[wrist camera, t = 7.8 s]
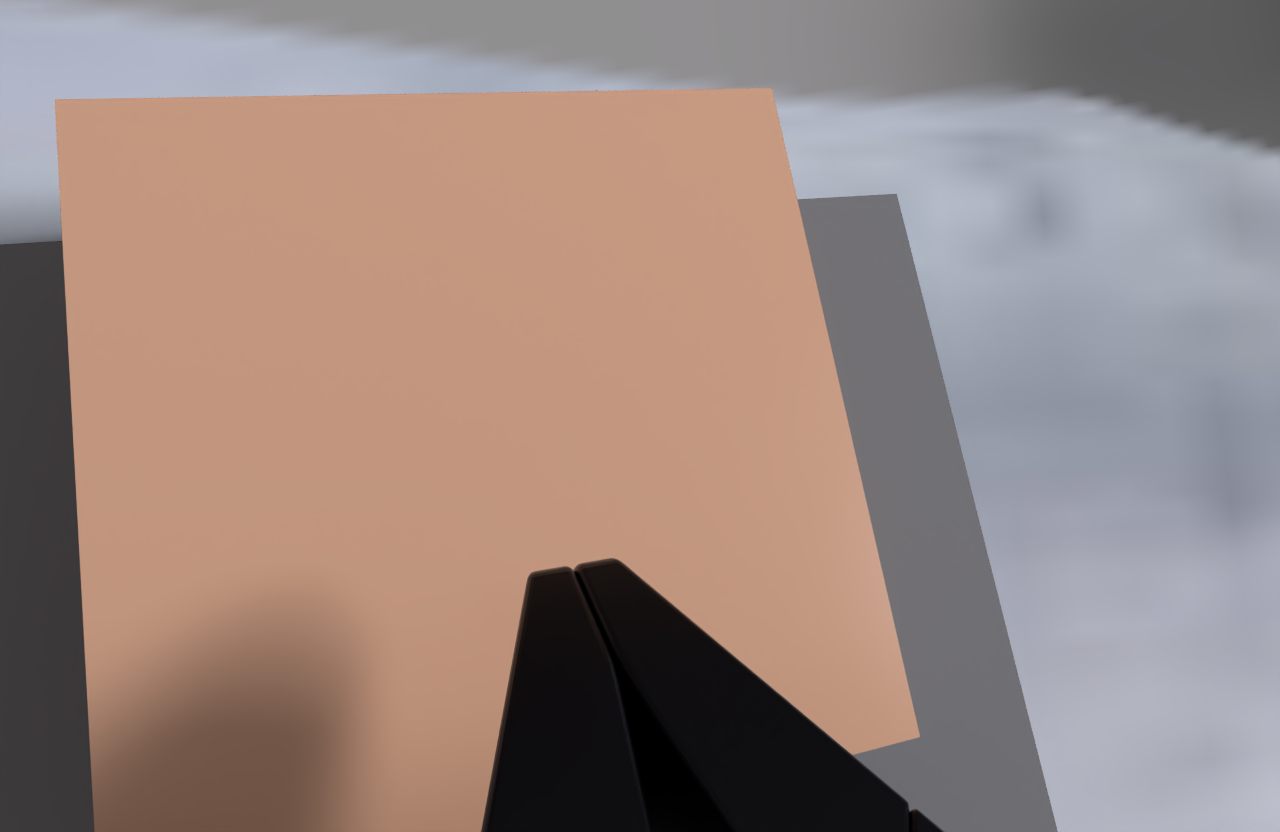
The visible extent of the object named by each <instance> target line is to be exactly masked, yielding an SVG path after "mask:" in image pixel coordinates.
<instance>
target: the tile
mask: <svg viewBox="0 0 1280 832" xmlns="http://www.w3.org/2000/svg"><path fill="white" fill-rule="evenodd" d="M55 113H56V132H57V150H58V168H59V187H60V205H61V224H62V242H63V260H64V279H65V297H66V315H67V334H68V352H69V371H70V389H71V407H72V426H73V444H74V462H75V481H76V499H77V518H78V536H79V554H80V573H81V591H82V610H83V628H84V646H85V665H86V683H87V701H88V720H89V738H90V757H91V775H92V793H93V812H94V830H95V832H481V829H482V823H483V818H484V812H485V807H486V801H487V796H488V790H489V785H490V780H491V774H492V769H493V763H494V758H495V752H496V747H497V741H498V736H499V730H500V725H501V719H502V714H503V708H504V703H505V697H506V692H507V686H508V681H509V675H510V670H511V664H512V659H513V653H514V648H515V642H516V637H517V631H518V626H519V620H520V615H521V609H522V604H523V598H524V593H525V588H526V582H527V578H528V576H529V574H530V573H532V572H534V571H539V570H545V569H551V568H556V567H562V566H568V567H570V568H572V569H573V570H574V568H575V567H576V566H577V565H578V564H580V563H585V562H591V561H596V560H602V559H608V558H615V559H618V560H620V561H621V562H623V563H624V564H625V565H626V566H627V567H629V568H630V569H631V570H632V571H633V572H635V573H636V574H637V575H638V576H639V577H641V578H642V579H643V580H644V581H645V582H647V583H648V584H649V585H650V586H651V587H653V588H654V589H655V590H656V591H657V592H658V593H660V594H661V595H662V596H663V597H664V598H666V599H667V600H668V601H669V602H670V603H672V604H673V605H674V606H675V607H676V608H678V609H679V610H680V611H681V612H682V613H684V614H685V615H686V616H687V617H688V618H690V619H691V620H692V621H693V622H694V623H695V624H697V625H698V626H699V627H700V628H701V629H703V630H704V631H705V632H706V633H707V634H709V635H710V636H711V637H712V638H713V639H715V640H716V641H717V642H718V643H719V644H721V645H722V646H723V647H724V648H725V649H727V650H728V651H729V652H730V653H731V654H732V655H734V656H735V657H736V658H737V659H738V660H740V661H741V662H742V663H743V664H744V665H746V666H747V667H748V668H749V669H750V670H752V671H753V672H754V673H755V674H756V675H758V676H759V677H760V678H761V679H762V680H764V681H765V682H766V683H767V684H768V685H769V686H771V687H772V688H773V689H774V690H775V691H777V692H778V693H779V694H780V695H781V696H783V697H784V698H785V699H786V700H787V701H789V702H790V703H791V704H792V705H793V706H795V707H796V708H797V709H798V710H799V711H801V712H802V713H803V714H804V715H805V716H806V717H808V718H809V719H810V720H811V721H812V722H814V723H815V724H816V725H817V726H818V727H820V728H821V729H822V730H823V731H824V732H826V733H827V734H828V735H829V736H830V737H832V738H833V739H834V740H835V741H836V742H838V743H839V744H840V745H841V746H842V747H844V748H845V749H846V750H847V751H848V752H849V753H851V754H852V755H854V754H858V753H862V752H865V751H869V750H873V749H877V748H881V747H884V746H888V745H892V744H896V743H900V742H903V741H907V740H911V739H915V738H918V737H920V734H919V730H918V725H917V721H916V717H915V712H914V708H913V703H912V699H911V695H910V690H909V686H908V682H907V677H906V673H905V668H904V664H903V660H902V655H901V651H900V647H899V642H898V638H897V633H896V629H895V625H894V620H893V616H892V612H891V607H890V603H889V599H888V594H887V590H886V585H885V581H884V577H883V572H882V568H881V564H880V559H879V555H878V550H877V546H876V542H875V537H874V533H873V529H872V524H871V520H870V515H869V511H868V507H867V502H866V498H865V494H864V489H863V485H862V480H861V476H860V472H859V467H858V463H857V459H856V454H855V450H854V445H853V441H852V437H851V432H850V428H849V424H848V419H847V415H846V410H845V406H844V402H843V397H842V393H841V389H840V384H839V380H838V375H837V371H836V367H835V362H834V358H833V354H832V349H831V345H830V341H829V336H828V332H827V327H826V323H825V319H824V314H823V310H822V306H821V301H820V297H819V292H818V288H817V284H816V279H815V275H814V271H813V266H812V262H811V257H810V253H809V249H808V244H807V240H806V236H805V231H804V227H803V222H802V218H801V214H800V209H799V205H798V201H797V196H796V192H795V187H794V183H793V179H792V174H791V170H790V166H789V161H788V157H787V152H786V148H785V144H784V139H783V135H782V131H781V126H780V122H779V118H778V113H777V109H776V104H775V100H774V96H773V91H772V88H754V89H691V90H627V91H564V92H501V93H438V94H374V95H311V96H248V97H185V98H121V99H58V100H55Z"/></svg>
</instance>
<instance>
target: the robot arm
mask: <svg viewBox="0 0 1280 832" xmlns="http://www.w3.org/2000/svg"><path fill="white" fill-rule="evenodd" d="M481 832H944V831H943V830H942V829H941V828H940V827H938V826H937V825H936V824H935V823H934V822H932V821H931V820H930V819H929V818H928V817H926V816H925V815H924V814H923V813H922V812H920V811H919V810H918V809H912V810H911V811H910V809H909V803H908V801H907V800H906V799H904V798H903V797H902V796H901V795H900V794H898V793H897V792H896V791H895V790H894V789H892V788H891V787H890V786H889V785H888V784H886V783H885V782H884V781H883V780H882V779H881V778H879V777H878V776H877V775H876V774H875V773H873V772H872V771H871V770H870V769H869V768H867V767H866V766H865V765H864V764H863V763H861V762H860V761H859V760H858V759H857V758H855V757H854V756H853V755H852V754H851V753H849V752H848V751H847V750H846V749H845V748H844V747H842V746H841V745H840V744H839V743H838V742H836V741H835V740H834V739H833V738H832V737H830V736H829V735H828V734H827V733H826V732H824V731H823V730H822V729H821V728H820V727H818V726H817V725H816V724H815V723H814V722H812V721H811V720H810V719H809V718H808V717H806V716H805V715H804V714H803V713H802V712H801V711H799V710H798V709H797V708H796V707H795V706H793V705H792V704H791V703H790V702H789V701H787V700H786V699H785V698H784V697H783V696H781V695H780V694H779V693H778V692H777V691H775V690H774V689H773V688H772V687H771V686H769V685H768V684H767V683H766V682H765V681H764V680H762V679H761V678H760V677H759V676H758V675H756V674H755V673H754V672H753V671H752V670H750V669H749V668H748V667H747V666H746V665H744V664H743V663H742V662H741V661H740V660H738V659H737V658H736V657H735V656H734V655H732V654H731V653H730V652H729V651H728V650H727V649H725V648H724V647H723V646H722V645H721V644H719V643H718V642H717V641H716V640H715V639H713V638H712V637H711V636H710V635H709V634H707V633H706V632H705V631H704V630H703V629H701V628H700V627H699V626H698V625H697V624H695V623H694V622H693V621H692V620H691V619H690V618H688V617H687V616H686V615H685V614H684V613H682V612H681V611H680V610H679V609H678V608H676V607H675V606H674V605H673V604H672V603H670V602H669V601H668V600H667V599H666V598H664V597H663V596H662V595H661V594H660V593H658V592H657V591H656V590H655V589H654V588H653V587H651V586H650V585H649V584H648V583H647V582H645V581H644V580H643V579H642V578H641V577H639V576H638V575H637V574H636V573H635V572H633V571H632V570H631V569H630V568H629V567H627V566H626V565H625V564H624V563H623V562H621V561H620V560H618V559H615V558H608V559H602V560H596V561H591V562H585V563H580V564H578V565H577V566H576V567H575V568H574V570H573V569H572V568H570V567H568V566H562V567H556V568H551V569H545V570H539V571H534V572H532V573H530V574H529V576H528V578H527V582H526V588H525V593H524V598H523V604H522V609H521V615H520V620H519V626H518V631H517V637H516V642H515V648H514V653H513V659H512V664H511V670H510V675H509V681H508V686H507V692H506V697H505V703H504V708H503V714H502V719H501V725H500V730H499V736H498V741H497V747H496V752H495V758H494V763H493V769H492V774H491V780H490V785H489V790H488V796H487V801H486V807H485V812H484V818H483V823H482V829H481Z"/></svg>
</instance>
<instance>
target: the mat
mask: <svg viewBox="0 0 1280 832" xmlns="http://www.w3.org/2000/svg"><path fill="white" fill-rule="evenodd" d="M797 201H798V205H799V209H800V214H801V218H802V222H803V227H804V231H805V236H806V240H807V244H808V249H809V253H810V257H811V262H812V266H813V271H814V275H815V279H816V284H817V288H818V292H819V297H820V301H821V306H822V310H823V314H824V319H825V323H826V327H827V332H828V336H829V341H830V345H831V349H832V354H833V358H834V362H835V367H836V371H837V375H838V380H839V384H840V389H841V393H842V397H843V402H844V406H845V410H846V415H847V419H848V424H849V428H850V432H851V437H852V441H853V445H854V450H855V454H856V459H857V463H858V467H859V472H860V476H861V480H862V485H863V489H864V494H865V498H866V502H867V507H868V511H869V515H870V520H871V524H872V529H873V533H874V537H875V542H876V546H877V550H878V555H879V559H880V564H881V568H882V572H883V577H884V581H885V585H886V590H887V594H888V599H889V603H890V607H891V612H892V616H893V620H894V625H895V629H896V633H897V638H898V642H899V647H900V651H901V655H902V660H903V664H904V668H905V673H906V677H907V682H908V686H909V690H910V695H911V699H912V703H913V708H914V712H915V717H916V721H917V725H918V730H919V734H920V737H918V738H915V739H911V740H907V741H903V742H900V743H896V744H892V745H888V746H884V747H881V748H877V749H873V750H869V751H865V752H862V753H858V754H854V755H853V756H854V757H855V758H857V759H858V760H859V761H860V762H861V763H863V764H864V765H865V766H866V767H867V768H869V769H870V770H871V771H872V772H873V773H875V774H876V775H877V776H878V777H879V778H881V779H882V780H883V781H884V782H885V783H886V784H888V785H889V786H890V787H891V788H892V789H894V790H895V791H896V792H897V793H898V794H900V795H901V796H902V797H903V798H904V799H906V800H907V801H908V803H909V809H910V811H911V810H912V809H918V810H919V811H920V812H922V813H923V814H924V815H925V816H926V817H928V818H929V819H930V820H931V821H932V822H934V823H935V824H936V825H937V826H938V827H940V828H941V829H942V830H943V831H944V832H1058V831H1057V827H1056V824H1055V820H1054V816H1053V812H1052V808H1051V804H1050V800H1049V796H1048V792H1047V788H1046V784H1045V780H1044V776H1043V772H1042V768H1041V764H1040V760H1039V756H1038V752H1037V748H1036V744H1035V740H1034V736H1033V732H1032V728H1031V725H1030V721H1029V717H1028V713H1027V709H1026V705H1025V701H1024V697H1023V693H1022V689H1021V685H1020V681H1019V677H1018V673H1017V669H1016V665H1015V661H1014V657H1013V653H1012V649H1011V645H1010V641H1009V637H1008V633H1007V629H1006V626H1005V622H1004V618H1003V614H1002V610H1001V606H1000V602H999V598H998V594H997V590H996V586H995V582H994V578H993V574H992V570H991V566H990V562H989V558H988V554H987V550H986V546H985V542H984V538H983V534H982V530H981V526H980V523H979V519H978V515H977V511H976V507H975V503H974V499H973V495H972V491H971V487H970V483H969V479H968V475H967V471H966V467H965V463H964V459H963V455H962V451H961V447H960V443H959V439H958V435H957V431H956V427H955V424H954V420H953V416H952V412H951V408H950V404H949V400H948V396H947V392H946V388H945V384H944V380H943V376H942V372H941V368H940V364H939V360H938V356H937V352H936V348H935V344H934V340H933V336H932V332H931V328H930V325H929V321H928V317H927V313H926V309H925V305H924V301H923V297H922V293H921V289H920V285H919V281H918V277H917V273H916V269H915V265H914V261H913V257H912V253H911V249H910V245H909V241H908V237H907V233H906V229H905V226H904V222H903V218H902V214H901V210H900V206H899V202H898V198H897V194H887V195H869V196H852V197H834V198H816V199H799V200H797ZM0 832H95V830H94V812H93V793H92V775H91V757H90V738H89V720H88V701H87V683H86V665H85V646H84V628H83V610H82V591H81V573H80V554H79V536H78V518H77V499H76V481H75V462H74V444H73V426H72V407H71V389H70V371H69V352H68V334H67V315H66V297H65V279H64V260H63V242H62V241H57V242H39V243H21V244H4V245H0Z"/></svg>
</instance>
